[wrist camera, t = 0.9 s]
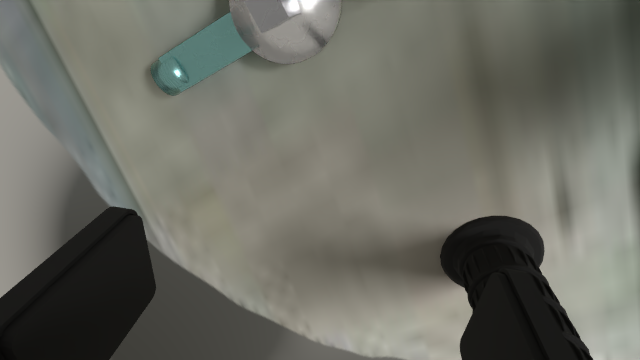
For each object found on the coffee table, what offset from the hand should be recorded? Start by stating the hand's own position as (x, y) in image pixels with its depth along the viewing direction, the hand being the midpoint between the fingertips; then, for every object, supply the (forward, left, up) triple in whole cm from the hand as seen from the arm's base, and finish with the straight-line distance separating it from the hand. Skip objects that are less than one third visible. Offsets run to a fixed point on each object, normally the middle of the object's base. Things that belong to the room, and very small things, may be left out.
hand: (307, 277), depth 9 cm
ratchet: (+6, -7, -23) cm, 25 cm away
